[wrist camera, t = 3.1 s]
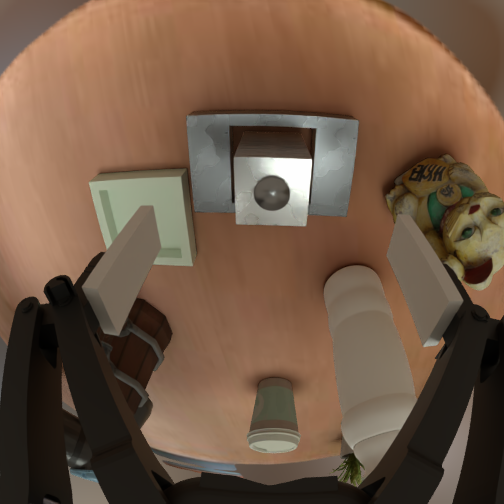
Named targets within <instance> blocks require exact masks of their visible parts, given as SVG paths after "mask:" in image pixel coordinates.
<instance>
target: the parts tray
mask: <svg viewBox="0 0 504 504" xmlns="http://www.w3.org/2000/svg"><path fill="white" fill-rule="evenodd" d="M89 185H90V189H91V194H92V198H93V202H94V206H95V209H96V213H97V217H98V221H99V224H100V228H101V231H102V235H103V238H104V241H105V245H106V248H107V249H108V248H109V247H110V245H111V244H112V243H113V241H114V240H115V238H116V237H117V236H118V234H119V233H120V232H121V230H122V229H123V228H124V226H125V225H126V224H127V222H128V221H129V220H130V219H131V217H132V216H133V215H134V213H135V212H136V211H137V210H138V208H139V207H140V206H145V205H153V206H154V212H155V217H156V222H157V228H158V233H159V238H160V243H161V249H160V251H159V253H158V255H157V257H156V259H155V261H154V263H153V264H154V265H176V266H193V264H194V261H195V258H196V255H197V250H196V243H195V235H194V227H193V219H192V210H191V201H190V192H189V182H188V172H187V168H182V169H159V170H141V171H127V172H114V173H103V174H98V175H97V176H96V177H94V178H93V179H92V180H91V181H89Z"/></svg>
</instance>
